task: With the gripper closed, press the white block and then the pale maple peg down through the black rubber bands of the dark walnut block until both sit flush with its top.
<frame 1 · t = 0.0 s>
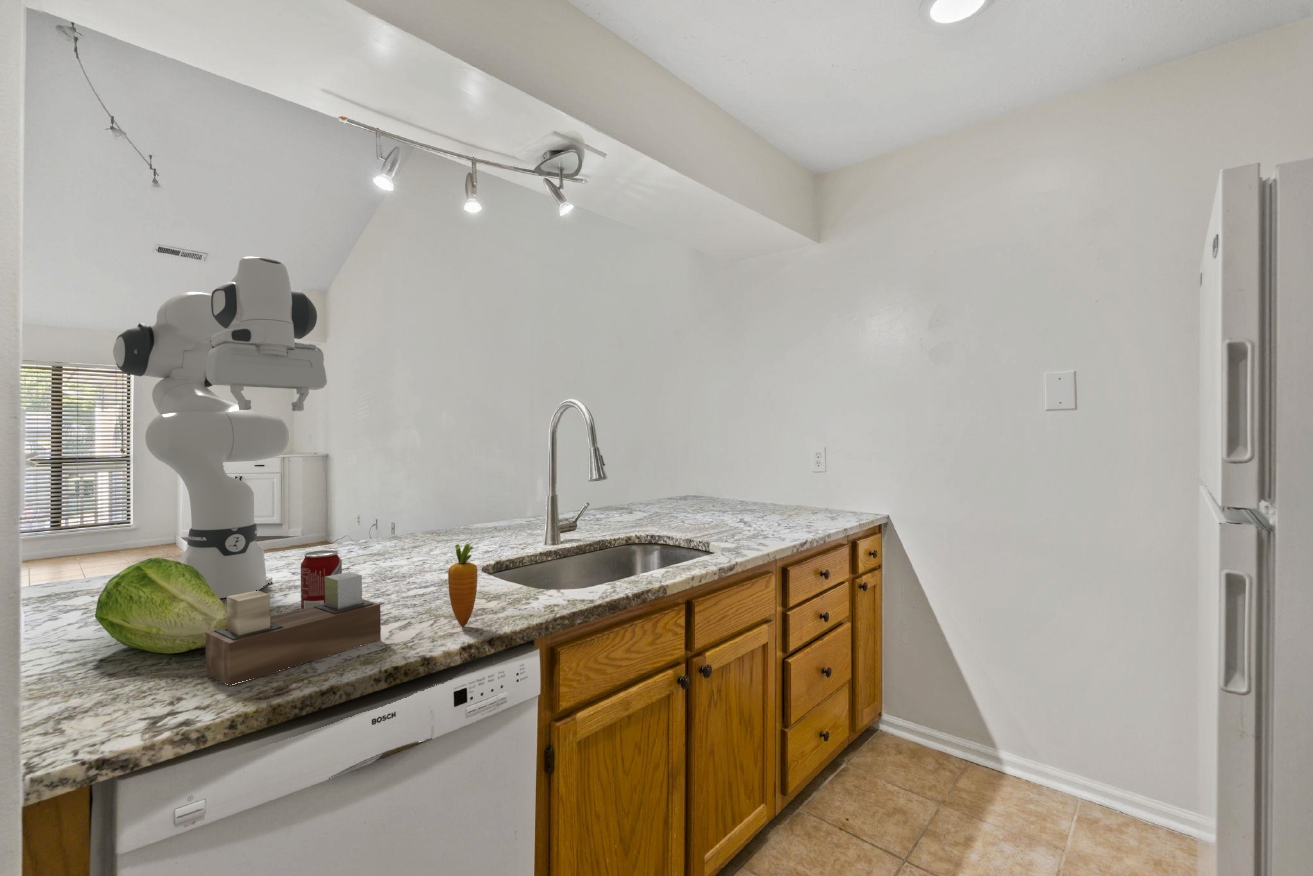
hand: (272, 410, 117), 39 cm above the countertop, tool pointing down, fingers open, 8 cm apart
walnut block: (299, 655, 94), on the countertop
carrot: (463, 627, 108), on the countertop
white block: (343, 594, 100), point 8 cm above the countertop, slide at 5.0 cm
lettuce: (181, 651, 97), on the countertop
soda can: (322, 617, 114), on the countertop
maple peg: (248, 616, 88), point 8 cm above the countertop, slide at 5.0 cm
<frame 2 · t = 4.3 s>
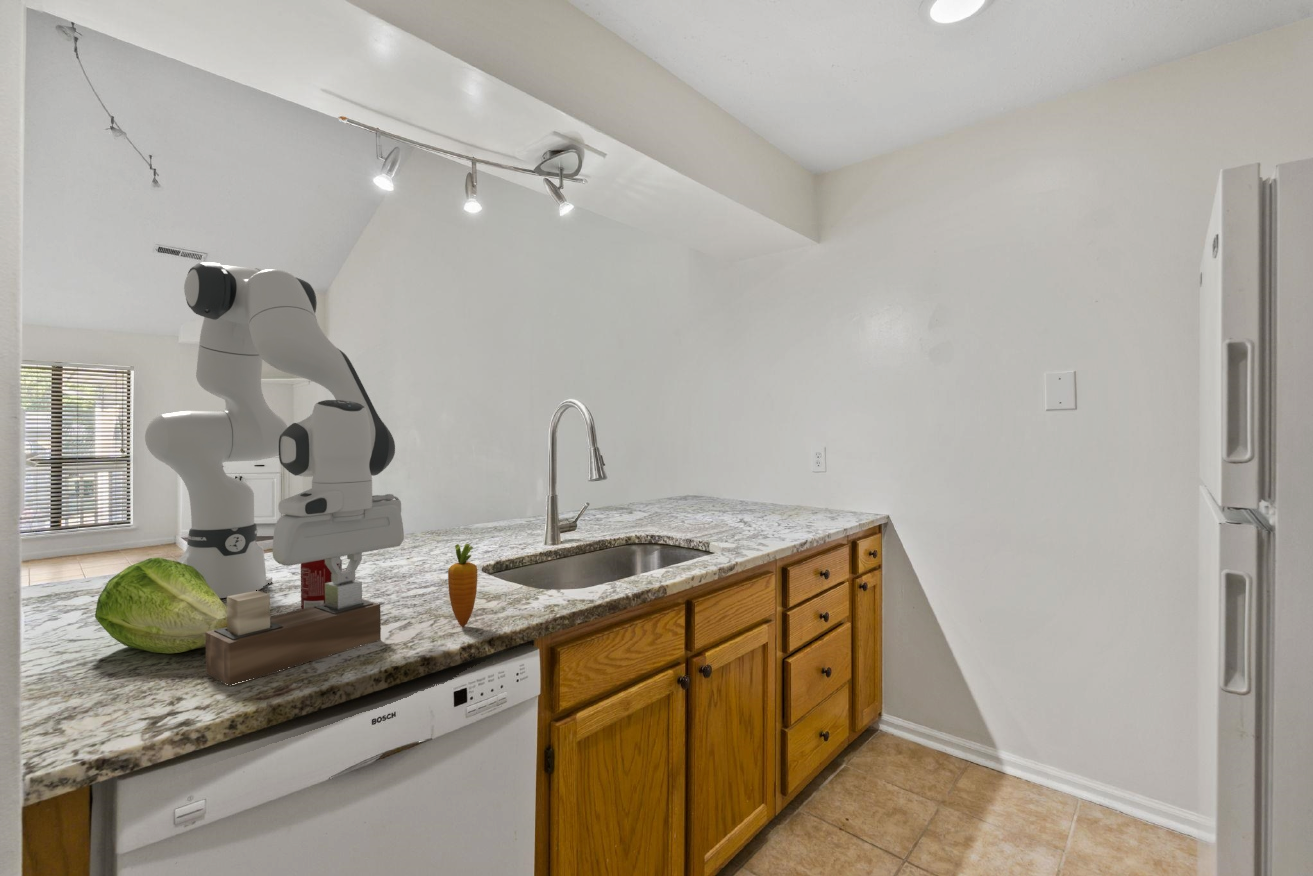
hand: (343, 582, 100), 10 cm above the countertop, tool pointing down, fingers closed, pressing on white block
white block: (343, 600, 100), point 7 cm above the countertop, slide at 3.9 cm, touching gripper
everything else where it was.
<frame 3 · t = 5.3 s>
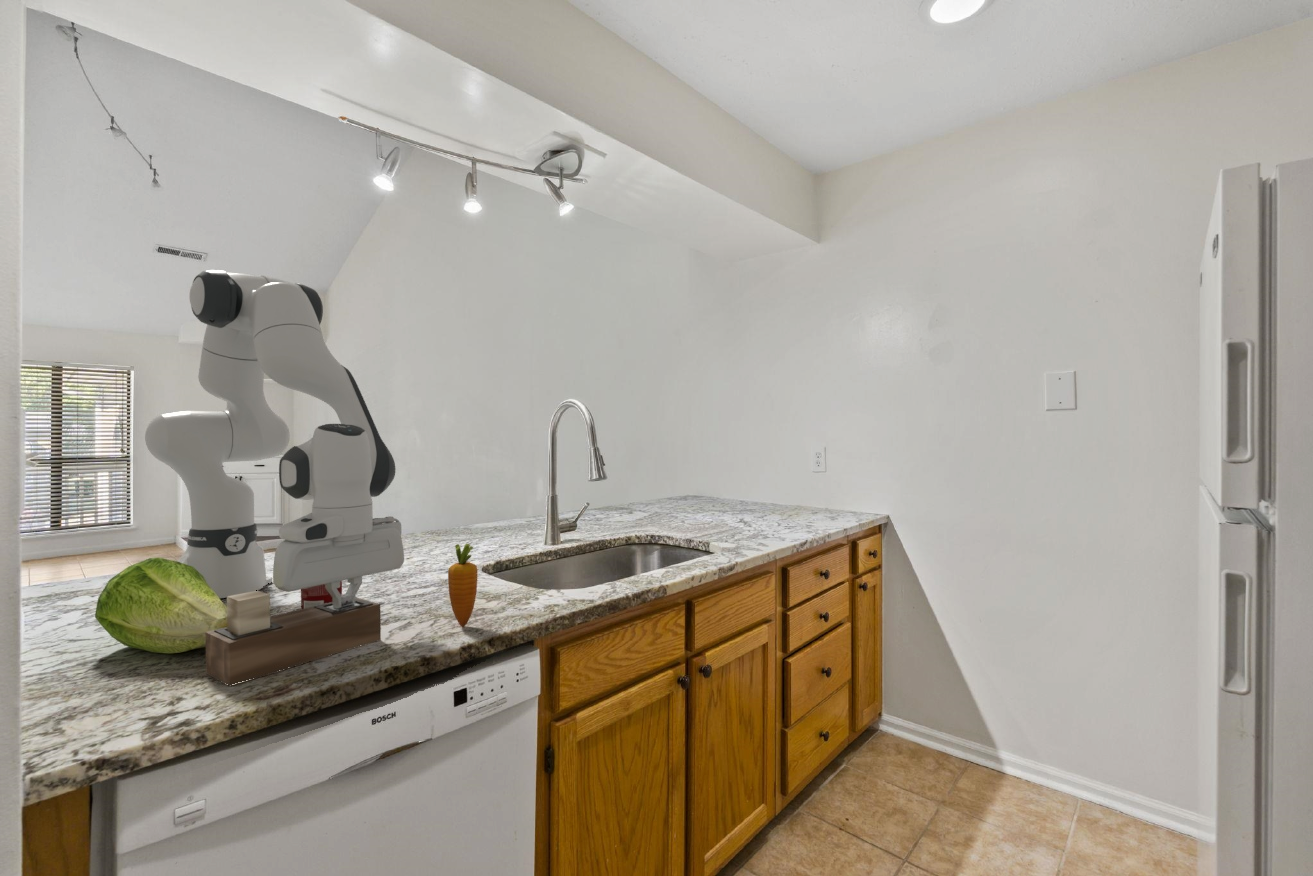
hand: (344, 606, 100), 6 cm above the countertop, tool pointing down, fingers closed, pressing on white block
white block: (343, 624, 100), point 3 cm above the countertop, slide at 0.0 cm, touching gripper
everything else where it was.
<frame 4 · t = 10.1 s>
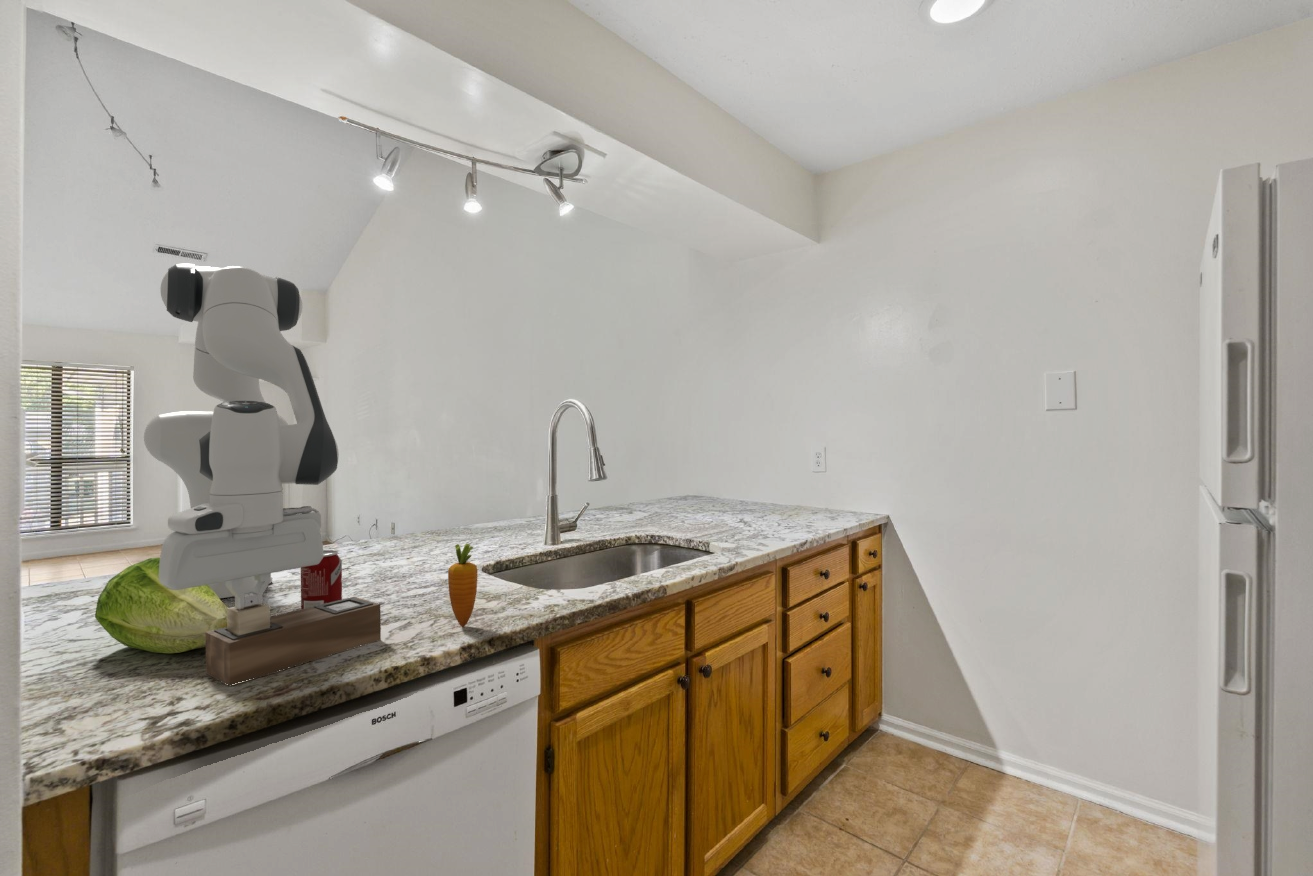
hand: (248, 606, 88), 9 cm above the countertop, tool pointing down, fingers closed, pressing on maple peg
white block: (343, 624, 100), point 3 cm above the countertop, slide at 0.0 cm
maple peg: (248, 627, 88), point 6 cm above the countertop, slide at 3.3 cm, touching gripper
everything else where it was.
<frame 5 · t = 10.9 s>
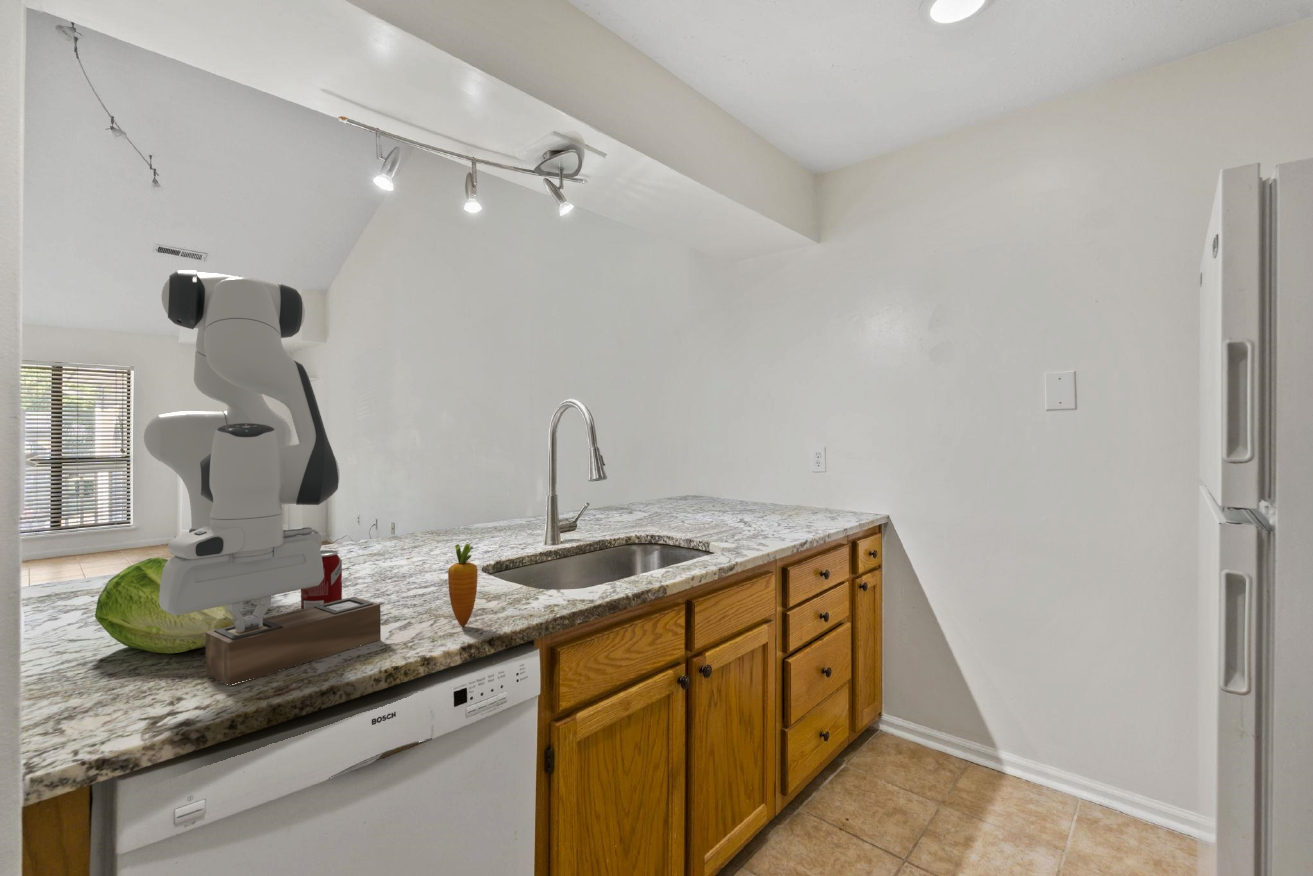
hand: (249, 629, 88), 6 cm above the countertop, tool pointing down, fingers closed, pressing on maple peg
maple peg: (249, 650, 88), point 3 cm above the countertop, slide at 0.0 cm, touching gripper
everything else where it was.
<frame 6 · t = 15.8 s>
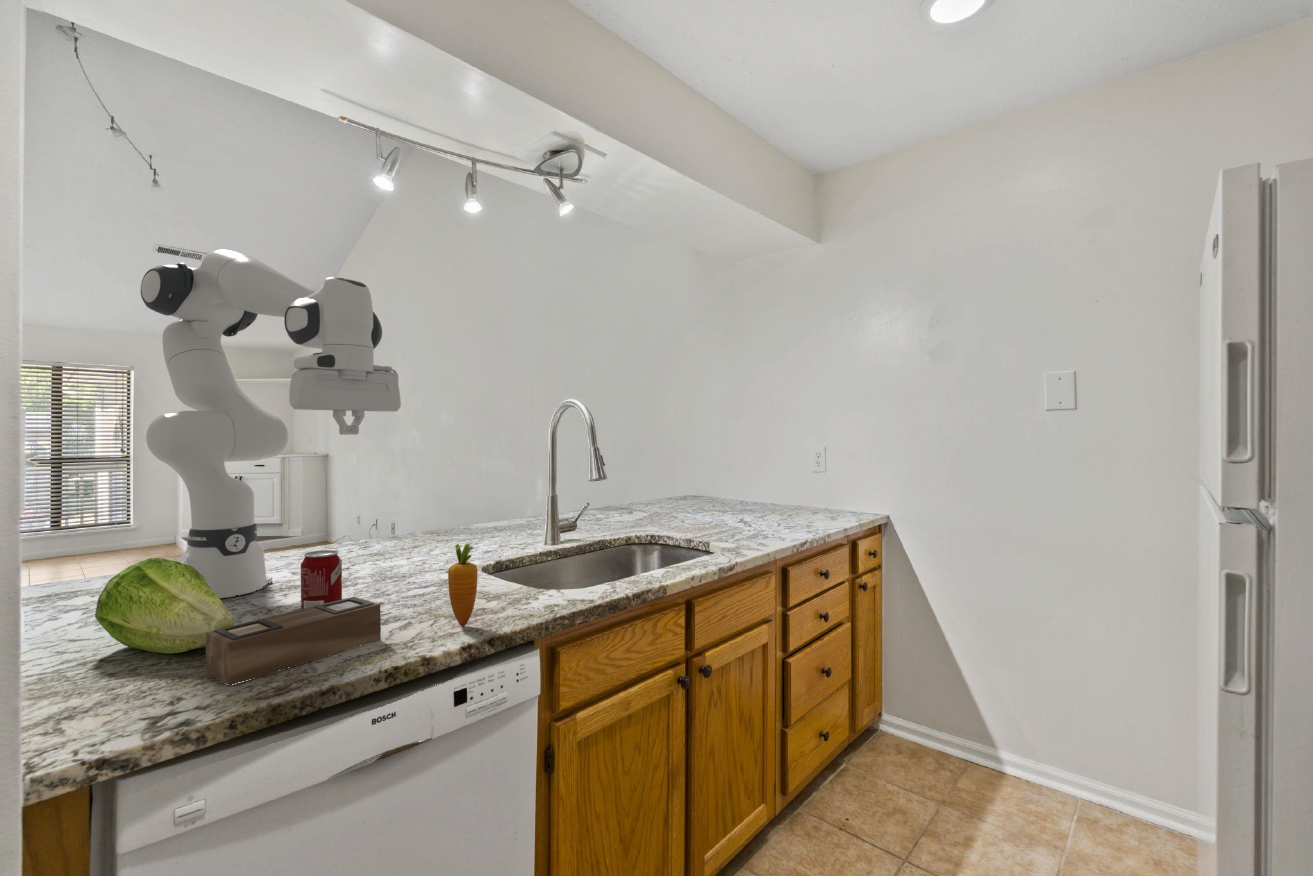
hand: (349, 434, 117), 34 cm above the countertop, tool pointing down, fingers closed
maple peg: (249, 650, 88), point 3 cm above the countertop, slide at 0.0 cm
everything else where it was.
at the end: white block slide at 0.0 cm; maple peg slide at 0.0 cm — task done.
